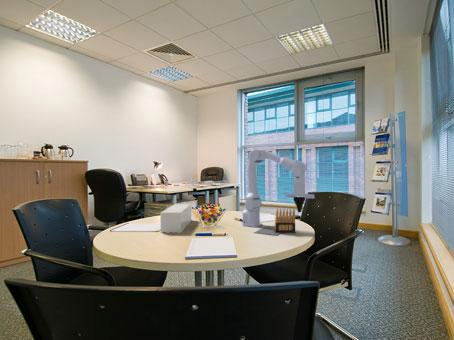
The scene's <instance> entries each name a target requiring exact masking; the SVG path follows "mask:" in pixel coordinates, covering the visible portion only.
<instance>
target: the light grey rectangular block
mask: <svg viewBox="0 0 454 340" xmlns="http://www.w3.org/2000/svg"><path fill="white" fill-rule="evenodd" d="M191 221H192V204H191V203H174V204H173V205H171V206H169V207H168V208H165V209H164V210H162V211H160V233H161V232H166V233H167V234H169V233H170V232H172V233H174V234H175V232H177V234H178V233H180V234H181V233H182V232H183V231H184V230H185V229H186V227H187V226H188V225H189V224H190V223H191Z"/></svg>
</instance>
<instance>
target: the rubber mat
mask: <svg viewBox="0 0 454 340" xmlns="http://www.w3.org/2000/svg"><path fill="white" fill-rule="evenodd" d="M274 228H275V226H267V225H265V226H263V227H262V228H260V229H258V230H256V231H255V232H254V234H260V235H268V236H275V237H277V236H279V235H280V234H281V233H275V232H274Z"/></svg>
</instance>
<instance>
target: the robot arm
mask: <svg viewBox="0 0 454 340" xmlns="http://www.w3.org/2000/svg"><path fill="white" fill-rule="evenodd" d="M267 159H268V160H271V161H273V162H276V163H278V164H280V166H281V168H284V169H287V170H289V171H290V172H292V173H293V193H285V194H284V195H285V196H284V197H285V198H291V199H292V198H293V202H294V204H295V206H296V208H297V213H302V211H303V206H304V203H305V201H306V199H315V193H314V194H310V193H306V172H307V169H308V168H307V164H306V163H304V162H303V161H299V160H298V159H293V158H291V156H288V155H287V156H282V157H281V156H279V155H277V154H276V153H273V152H271V151H268V150H264V149H257V148H254V149H253V148H252V149H251V150H250V151H249V152H248V159H247V161H246V175H247V179H246V181H247V192H248V193H247V195H246V196H245V202H244V208H245V209H243V210H242V227H243V226H244V227H252V228H253V227H254V228H258V227H260V226H262V225H263V223H261V222H260V221H261V218H260V215H261V214H260V212H261V210H260V209H261V207H262V203H263V202H262V200H261V196H260V194H259V193H258V177H257V176H258V175H257V166H258V165H259V164H260V163H261V162H264V161H265V160H267Z"/></svg>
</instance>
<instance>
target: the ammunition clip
mask: <svg viewBox="0 0 454 340" xmlns="http://www.w3.org/2000/svg"><path fill="white" fill-rule="evenodd" d="M295 211H296V210H295V209H294V208H293V209H291V208H290V209H288V208H287V209H286V210H285V208H283V209H282V208H280V209H279V210H278V208H277V209H276V211H275V217H274V218H275V219H274V227H275V228H274V232H275V233H280V234H282V233H288V234H289V233H294V234H295V233H296V212H295Z"/></svg>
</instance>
